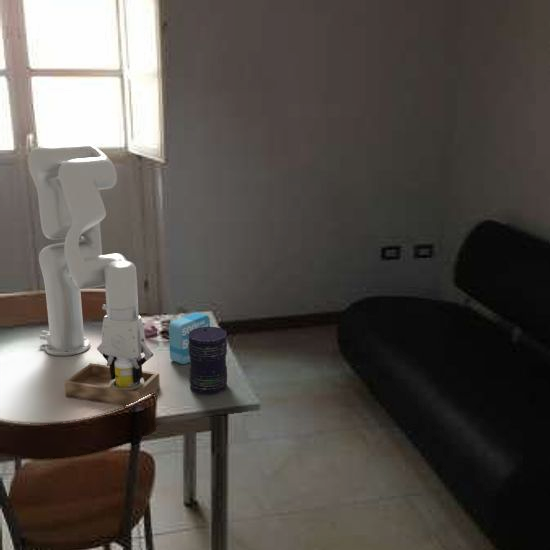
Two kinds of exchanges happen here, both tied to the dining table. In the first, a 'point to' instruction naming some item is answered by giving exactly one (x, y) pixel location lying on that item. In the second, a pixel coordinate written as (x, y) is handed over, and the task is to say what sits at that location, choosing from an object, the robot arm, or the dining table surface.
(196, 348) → the storage jar
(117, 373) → the supplement bottle
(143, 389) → the walnut box
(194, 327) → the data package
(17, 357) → the dining table surface
